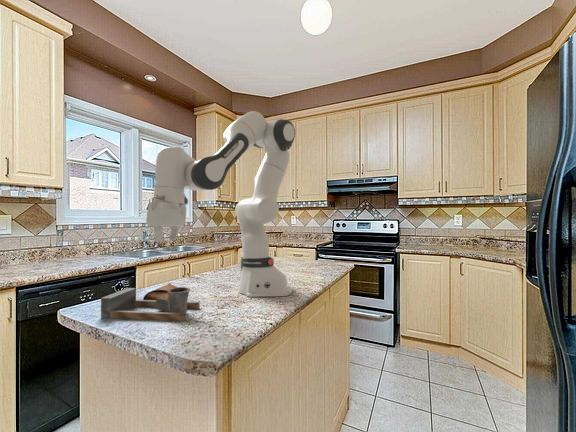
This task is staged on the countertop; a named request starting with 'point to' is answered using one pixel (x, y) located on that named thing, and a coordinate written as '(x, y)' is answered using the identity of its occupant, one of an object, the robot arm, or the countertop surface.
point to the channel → (126, 299)
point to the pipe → (174, 301)
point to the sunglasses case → (159, 293)
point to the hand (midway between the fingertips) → (166, 240)
